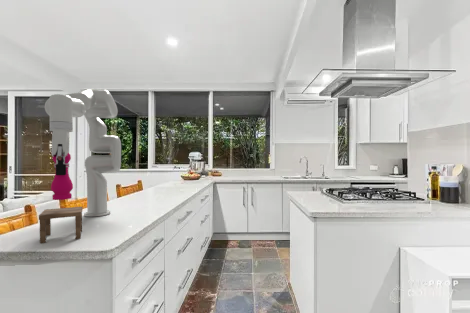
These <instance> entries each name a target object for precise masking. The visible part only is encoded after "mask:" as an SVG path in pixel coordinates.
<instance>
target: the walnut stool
mask: <svg viewBox="0 0 470 313" xmlns="http://www.w3.org/2000/svg"><path fill="white" fill-rule="evenodd" d="M61 218H63V219H64V218H74V219H75V228H74V229H75V240H80V239H81V238H82V237H81V235H82V234H81V233H82V232H83V206H72V207H71V206H70V207H63V208H62V207H61V208H50V209H49V208H47V209H44V210H43V211H42V212H41V213H40V214H39V215H38V220H39V244H46V243H47V236H51V234H52V233H51V230H52V229H51V228H52V226H51V223H52V222H51V220H52V219H61Z"/></svg>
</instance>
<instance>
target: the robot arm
mask: <svg viewBox="0 0 470 313" xmlns="http://www.w3.org/2000/svg"><path fill="white" fill-rule="evenodd" d="M44 111H45V113H46V115H47V116H49V132H52V135H51V156H52V158H53V157H54V155H56V169H55V173H56V175H66V164H65V157H66V156H67V154H68V153H69V154H70V133H72V132H74V131H73V118H81V117H83V116H84V117H85V119H86V122H87V123H88V127H89V134H88V135H89V136H88V149H89V151H90V152H91V153H94V155H90V156H88V157H86V158H85V160H84V168H85V173H86V195H87V196H86V199H87V201H86V202H87V206H86V208H87V210H86V211H87V212H84V213H83V216H85V217H88V218H89V217H92V218H93V217H95V218H96V217H103V216H107V215H110V214H111V210H108V181H107V179H106V177H105V176H104V174H109V173H110V174H113V173H114V174H115V173H119V171H120V170H121V166H122V142H121V139H120V137H119V136H118V135H107V134H108V126H107V125H106V123H105V122H104V121H103V120H102V119H115V118H116V117H117V116H118V112H119V110H118V106H117V103H116V101H115V100H114V97H113V96H112V94H111V92H110V91H109V90H107V89H100V88H99V89H97V88H94V89H91V88H87V89H83V90H81V91H79V92H74V93H67V94H61V93H60V94H58V93H57V94H55V93H54V94H51V95H50V96H49V98H48V99H46V101H45V103H44ZM95 153H96V154H95ZM99 154H100V155H99ZM102 154H103V155H102ZM62 155H64V156H62Z"/></svg>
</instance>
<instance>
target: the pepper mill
mask: <svg viewBox="0 0 470 313" xmlns="http://www.w3.org/2000/svg"><path fill="white" fill-rule="evenodd" d="M62 156H64V155H62ZM71 158H72V156H71V154H70V152H69V153H68V154H67V156H66V157H65V164H66V175H56V172H55V174H54V178H53V179H52V182H51V185H50V190H51V191H52V193H53V194H52V195H51V196H52V201H53V200H54V201H59V200H60V201H63V200H64V201H65V200H70V199H72V197H73V196H72V193H71V192H72V191H73V188H74V185H73V184H74V183H73V182H72V179H71V178H70V175H69V168H70V163H69V162H71ZM52 161H53V162H54V164H53V165H54V166H53V167H54V168H55V170H56V155H54V157H53V156H52Z"/></svg>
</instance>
